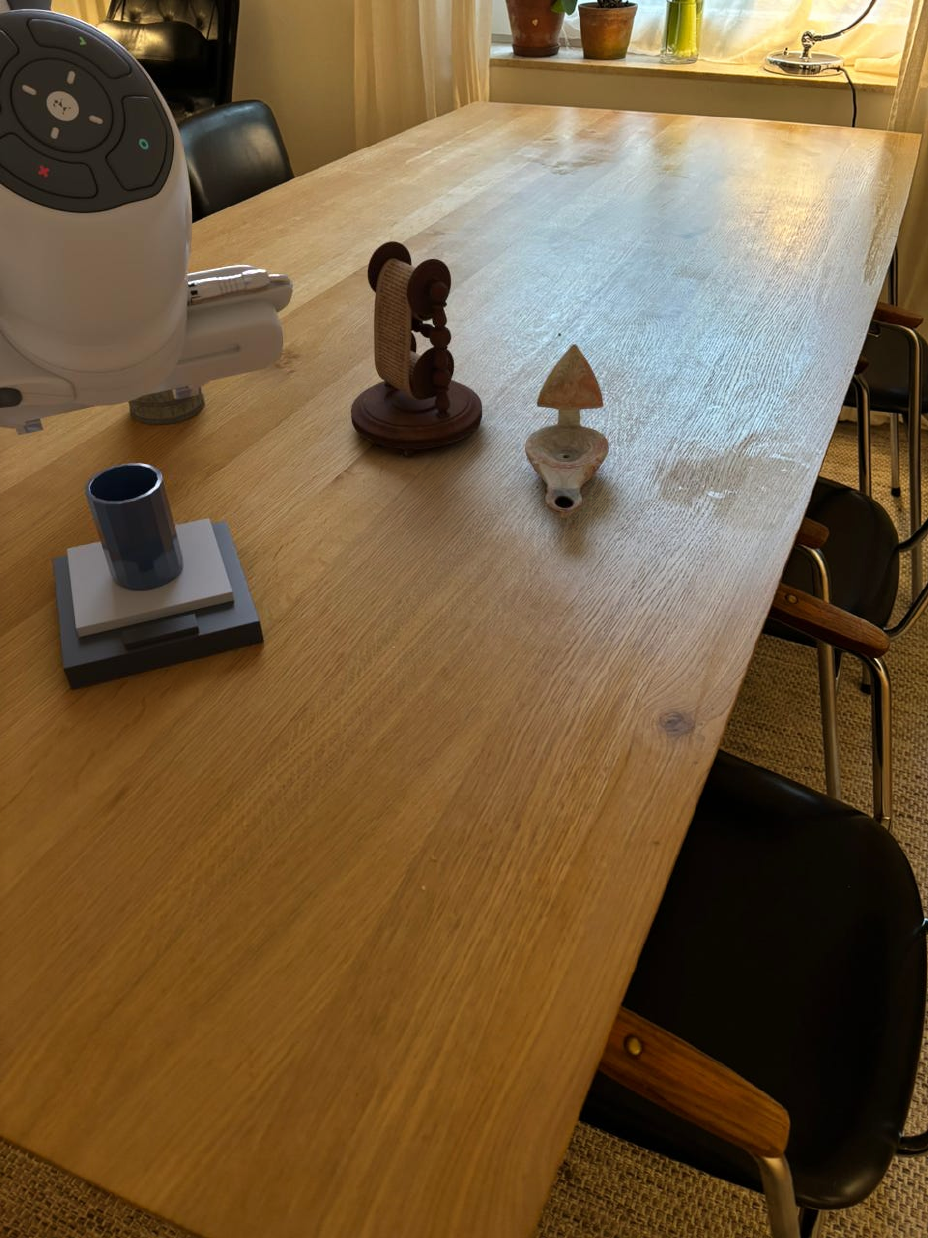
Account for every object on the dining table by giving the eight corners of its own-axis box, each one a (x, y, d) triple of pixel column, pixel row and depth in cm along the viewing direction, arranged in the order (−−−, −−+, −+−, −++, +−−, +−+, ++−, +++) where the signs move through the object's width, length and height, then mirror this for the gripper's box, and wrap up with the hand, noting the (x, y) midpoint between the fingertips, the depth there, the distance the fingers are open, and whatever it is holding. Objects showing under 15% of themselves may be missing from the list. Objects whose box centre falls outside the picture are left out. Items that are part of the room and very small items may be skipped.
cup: (115, 597, 85) (88, 510, 79) (108, 557, 89) (82, 471, 83) (188, 581, 86) (166, 494, 81) (178, 542, 91) (156, 457, 85)
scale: (71, 690, 81) (59, 659, 79) (59, 578, 93) (49, 549, 90) (264, 642, 85) (258, 611, 83) (230, 540, 97) (224, 511, 95)
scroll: (327, 424, 114) (306, 249, 101) (427, 383, 121) (420, 215, 108) (405, 476, 105) (393, 291, 92) (509, 429, 112) (511, 252, 99)
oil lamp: (607, 428, 112) (614, 344, 105) (605, 538, 96) (613, 448, 89) (530, 424, 113) (533, 342, 106) (515, 533, 97) (517, 443, 90)
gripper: (278, 211, 51) (254, 321, 65) (-156, 285, 45) (-85, 390, 58) (316, 325, 51) (284, 412, 64) (-114, 416, 45) (-52, 492, 58)
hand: (106, 403), depth 61 cm, fingers open, 8 cm apart
